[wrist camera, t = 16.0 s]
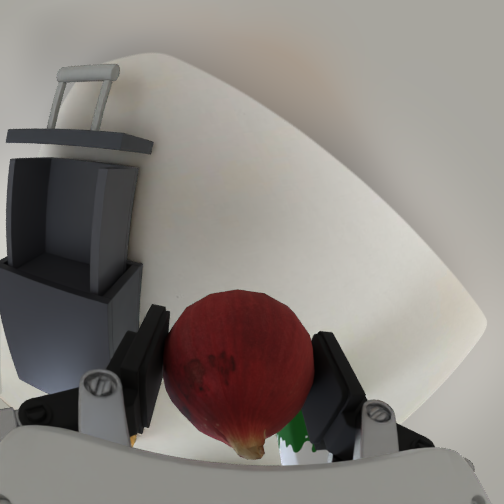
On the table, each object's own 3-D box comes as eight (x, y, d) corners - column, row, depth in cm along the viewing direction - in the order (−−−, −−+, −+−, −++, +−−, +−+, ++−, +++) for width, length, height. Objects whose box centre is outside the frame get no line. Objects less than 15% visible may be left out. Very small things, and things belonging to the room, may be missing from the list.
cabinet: (42, 238, 26) (-8, 264, 17) (143, 263, 27) (107, 304, 18) (51, 339, 30) (19, 378, 21) (138, 369, 31) (118, 421, 22)
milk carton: (265, 417, 35) (282, 539, 16) (291, 376, 33) (328, 516, 14) (317, 423, 36) (349, 530, 17) (346, 384, 34) (399, 500, 15)
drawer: (65, 81, 20) (25, 65, 13) (169, 82, 21) (146, 54, 14) (41, 252, 25) (2, 275, 18) (133, 277, 27) (105, 312, 20)
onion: (177, 353, 14) (148, 479, 7) (183, 254, 13) (123, 372, 5) (281, 364, 15) (309, 488, 7) (306, 270, 13) (380, 390, 6)
